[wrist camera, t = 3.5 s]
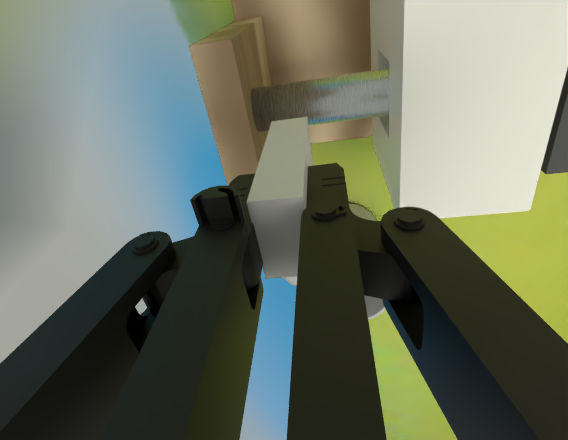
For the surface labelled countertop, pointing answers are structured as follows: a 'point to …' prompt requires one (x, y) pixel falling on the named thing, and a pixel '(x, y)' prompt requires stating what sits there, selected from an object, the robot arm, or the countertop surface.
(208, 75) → the stand
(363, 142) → the countertop surface
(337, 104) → the pipe
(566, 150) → the dark grey square plate
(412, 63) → the sleeve
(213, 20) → the countertop surface
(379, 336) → the countertop surface
